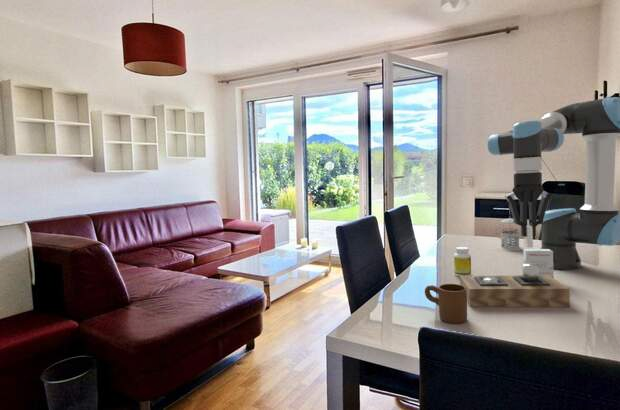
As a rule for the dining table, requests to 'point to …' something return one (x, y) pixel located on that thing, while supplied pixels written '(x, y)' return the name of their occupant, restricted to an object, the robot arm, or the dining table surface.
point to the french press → (508, 233)
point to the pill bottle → (462, 262)
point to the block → (516, 292)
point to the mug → (450, 302)
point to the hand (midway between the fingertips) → (528, 246)
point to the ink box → (540, 260)
